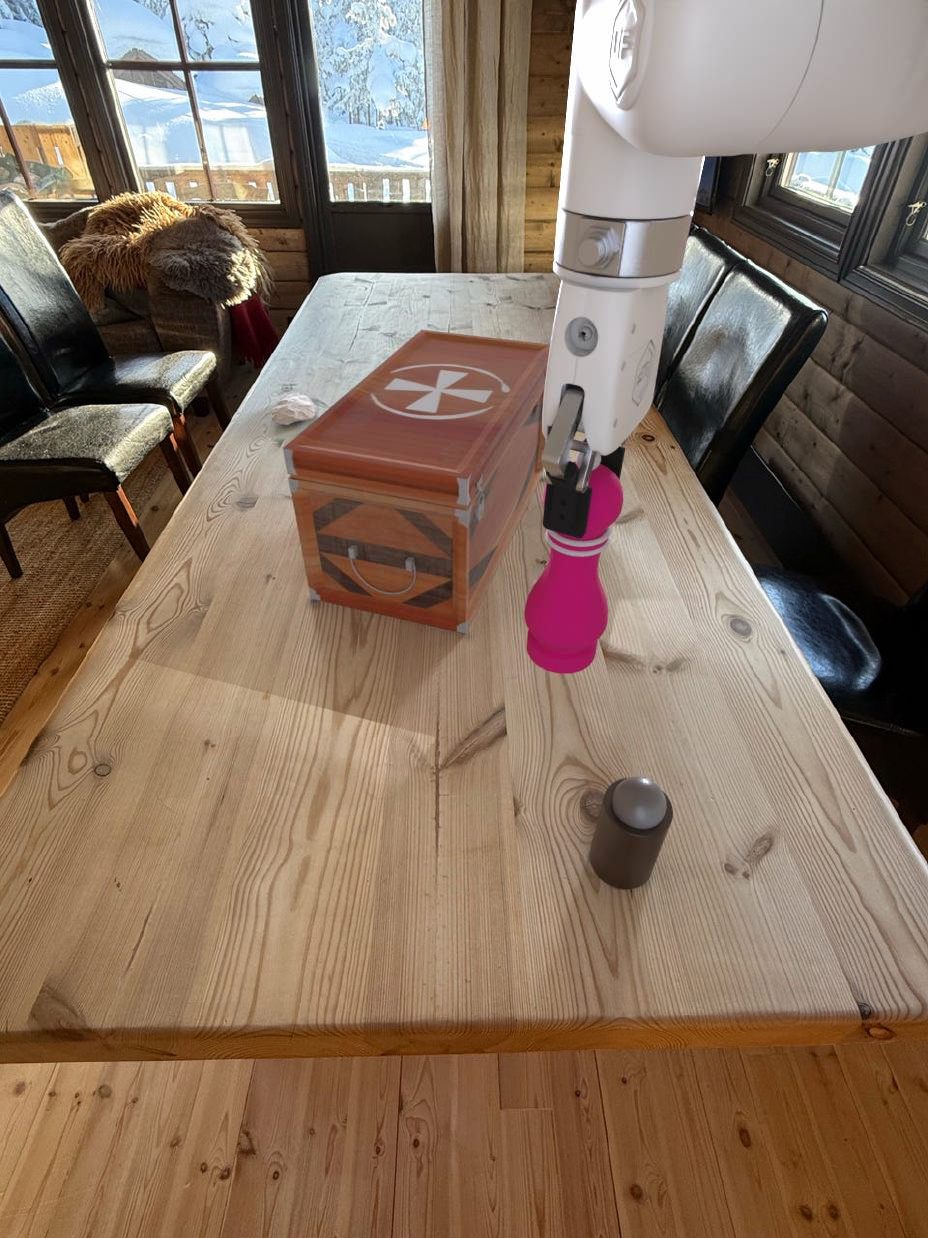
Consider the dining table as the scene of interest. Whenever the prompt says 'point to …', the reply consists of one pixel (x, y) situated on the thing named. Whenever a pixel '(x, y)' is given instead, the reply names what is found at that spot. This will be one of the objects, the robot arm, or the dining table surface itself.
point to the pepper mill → (574, 584)
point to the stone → (293, 409)
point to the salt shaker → (630, 832)
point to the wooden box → (421, 477)
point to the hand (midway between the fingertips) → (581, 508)
